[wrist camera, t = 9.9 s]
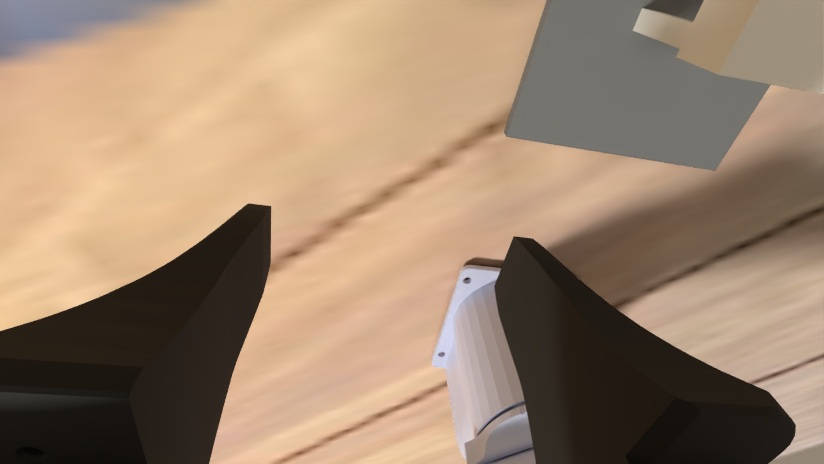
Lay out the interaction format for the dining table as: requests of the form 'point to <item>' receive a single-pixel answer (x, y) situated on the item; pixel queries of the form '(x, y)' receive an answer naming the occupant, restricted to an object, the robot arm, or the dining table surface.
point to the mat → (626, 88)
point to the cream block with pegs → (749, 40)
